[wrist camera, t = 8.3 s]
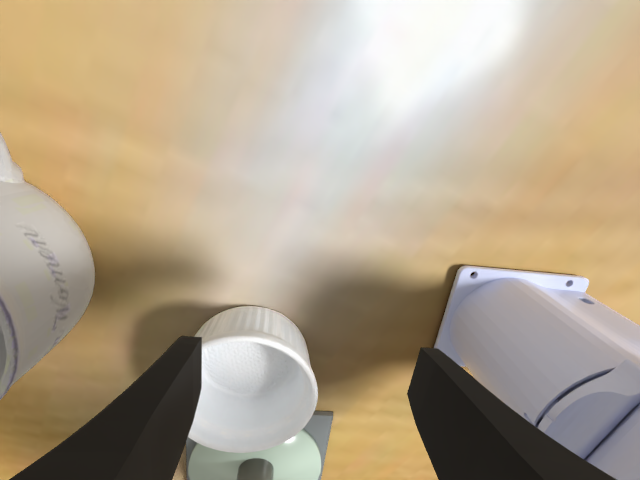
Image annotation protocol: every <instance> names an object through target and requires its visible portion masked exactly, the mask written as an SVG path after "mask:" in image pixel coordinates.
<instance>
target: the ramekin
mask: <svg viewBox="0 0 640 480" xmlns="http://www.w3.org/2000/svg"><path fill="white" fill-rule="evenodd" d="M194 337H202V388H201V392H200V397H199V401H198V405H197V409H196V413H195V417H194V420H193V424H192V426H191V429H190V432H189V435H188V437H189V438H190V439H192V440H193V441H195V442H197V443H199V444H201V445H203V446H206V447H208V448H212V449H215V450H219V451H224V452H232V453H249V452H257V451H261V450H266V449H269V448H272V447H275V446H278V445H280V444H282V443H284V442H286V441H287V440H289V439H291V438H292V437H294V436H295V435H296V434H297V433H299V432H300V431H301V430H302V429H303V428H304V427H305V426H306V424H307V423H308V422H309V420H310V419H311V417H312V415H313V413H314V411H315V409H316V405H317V399H318V387H317V382H316V378H315V376H314V373H313V371H312V369H311V365H310V359H309V354H308V349H307V345H306V342H305V339H304V337H303V335H302V333H301V332H300V330H299V329H298V327H297V326H296V325H295V324H294V323H293V322H292V321H291V320H289V319H288V318H287V317H286V316H284V315H283V314H281V313H279V312H277V311H274V310H271V309H268V308H263V307H258V306H241V307H236V308H232V309H228V310H225V311H223V312H221V313H219V314H217V315H215V316H213V317H212V318H210V319H209V320H208V321H207V322H206V323H204V324H203V326H202V327H201V328H200V329H199V330H198V332H197V333H196V335H195V336H194Z"/></svg>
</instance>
